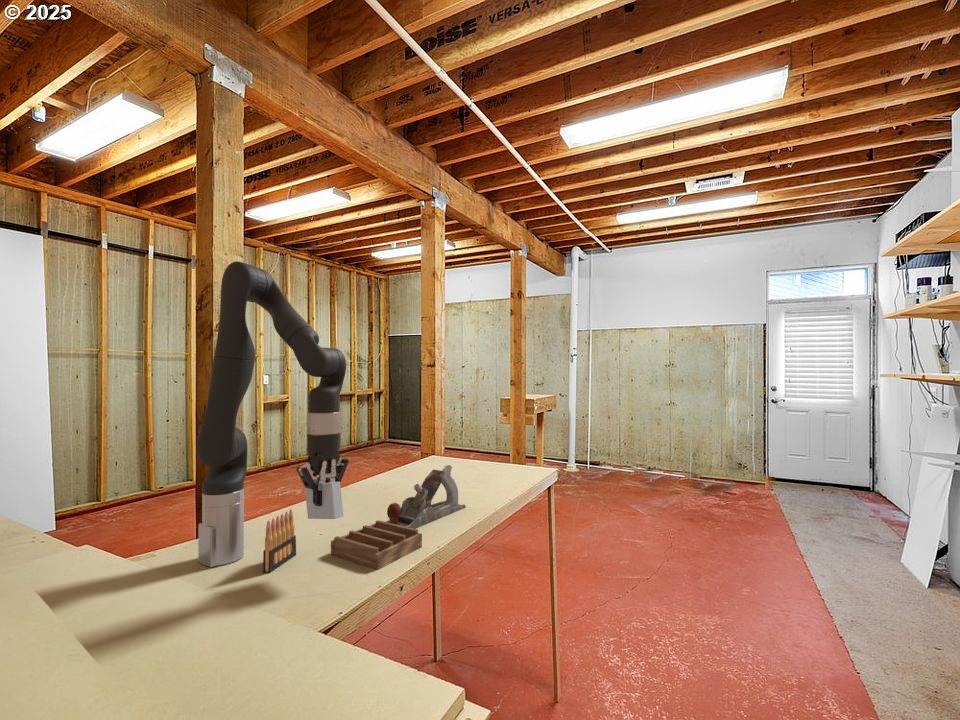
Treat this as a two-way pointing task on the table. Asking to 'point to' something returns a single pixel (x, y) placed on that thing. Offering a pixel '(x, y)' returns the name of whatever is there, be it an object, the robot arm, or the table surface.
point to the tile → (326, 502)
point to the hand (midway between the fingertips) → (323, 503)
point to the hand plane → (427, 501)
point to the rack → (377, 544)
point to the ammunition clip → (279, 542)
